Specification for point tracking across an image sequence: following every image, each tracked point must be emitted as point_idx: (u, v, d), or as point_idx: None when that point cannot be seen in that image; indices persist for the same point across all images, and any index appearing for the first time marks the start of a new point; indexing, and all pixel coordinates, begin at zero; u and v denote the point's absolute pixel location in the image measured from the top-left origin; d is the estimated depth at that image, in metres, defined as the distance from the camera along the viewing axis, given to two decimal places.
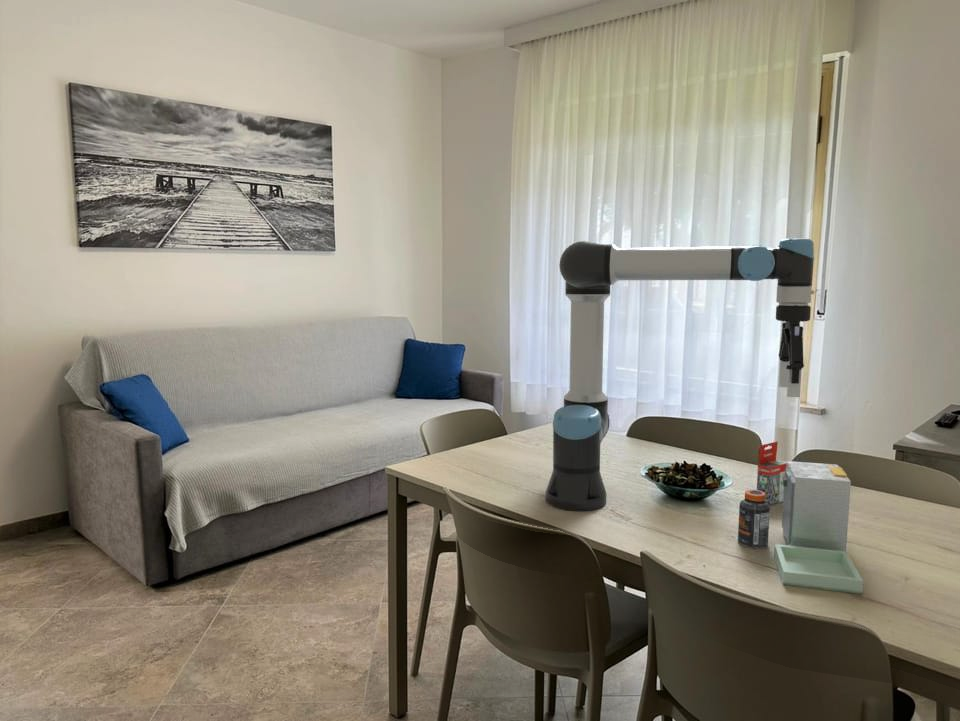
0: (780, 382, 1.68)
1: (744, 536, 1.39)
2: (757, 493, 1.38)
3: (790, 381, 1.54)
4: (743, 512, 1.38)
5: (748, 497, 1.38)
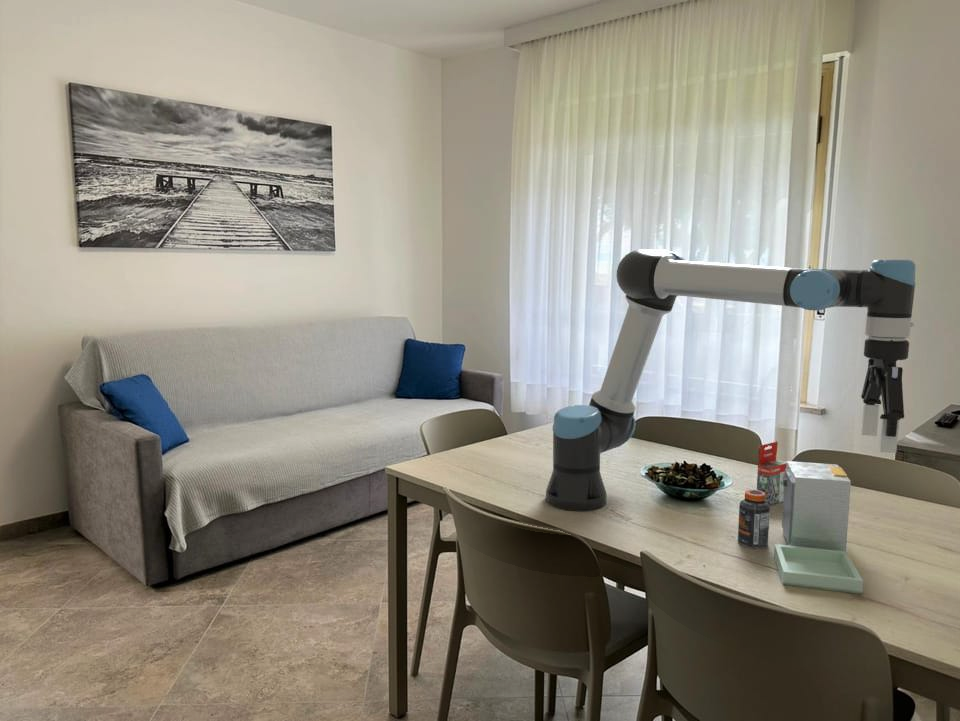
0: (864, 429, 1.40)
1: (744, 536, 1.39)
2: (757, 493, 1.38)
3: (884, 433, 1.27)
4: (743, 512, 1.38)
5: (748, 497, 1.38)
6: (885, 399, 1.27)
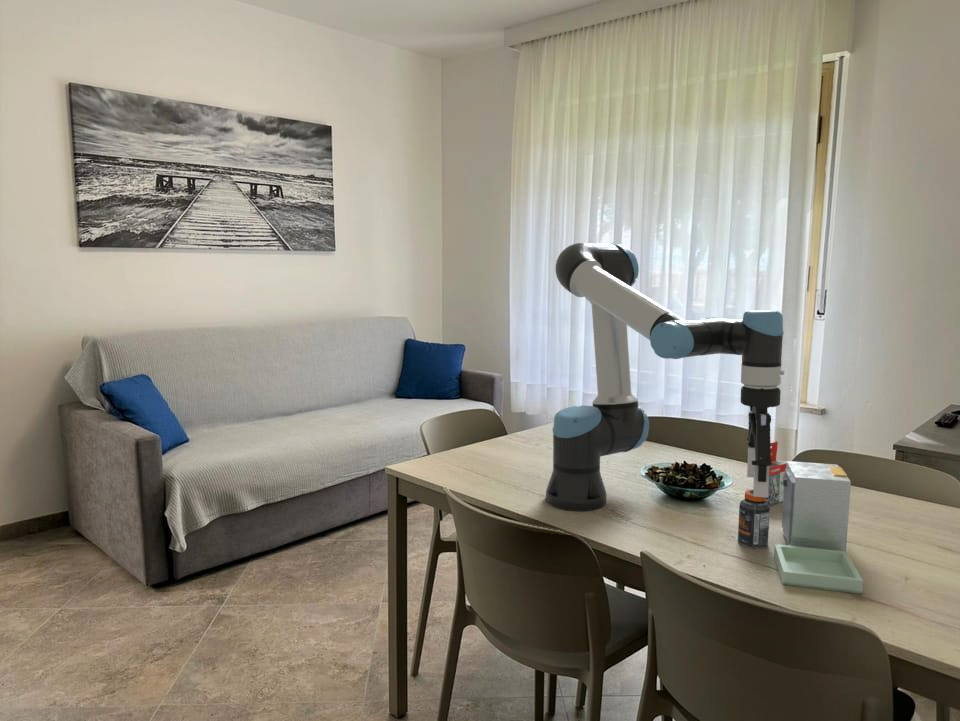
0: (749, 471, 1.45)
1: (744, 536, 1.39)
2: None
3: (756, 478, 1.31)
4: (743, 512, 1.38)
5: (748, 497, 1.38)
6: (756, 445, 1.32)
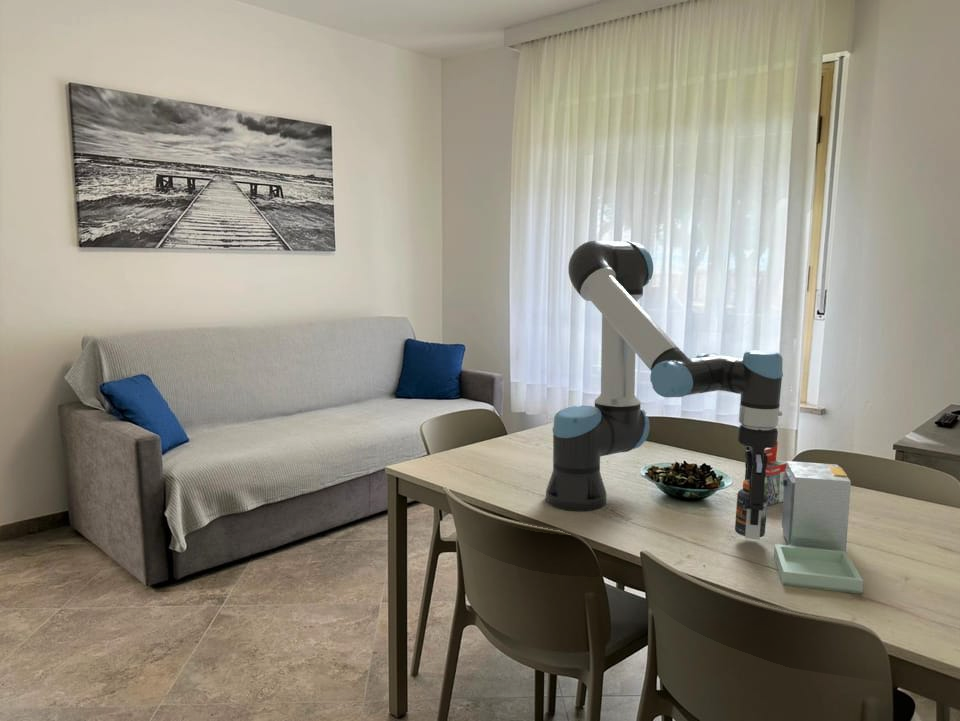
0: None
1: (741, 526, 1.39)
2: None
3: (749, 521, 1.37)
4: (741, 501, 1.38)
5: (746, 487, 1.38)
6: (750, 489, 1.36)
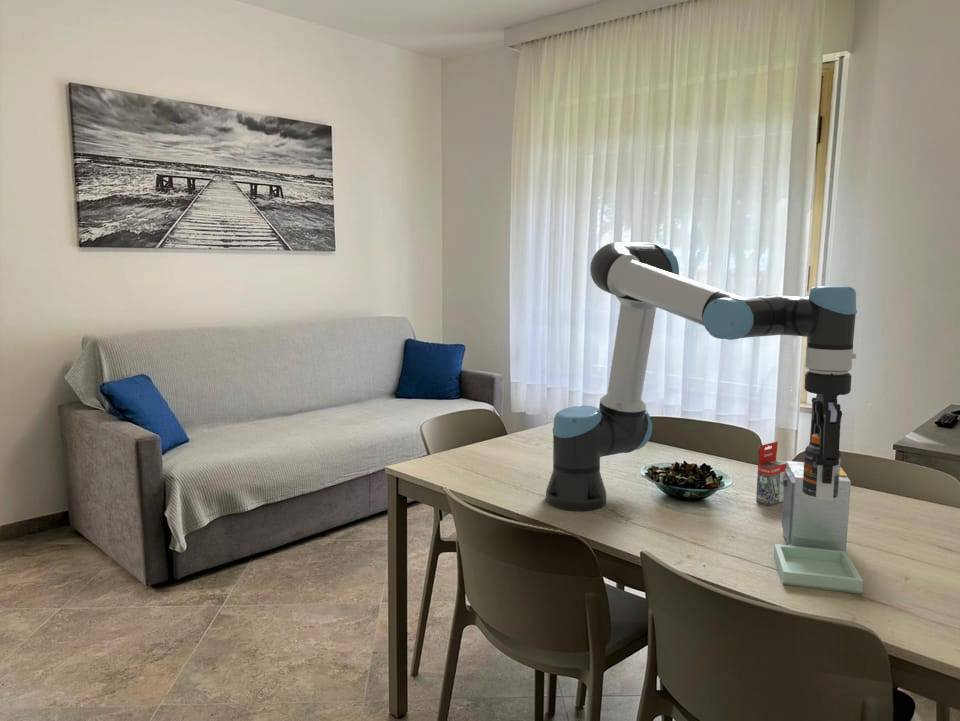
0: None
1: (811, 485, 1.22)
2: None
3: (820, 480, 1.20)
4: (811, 458, 1.22)
5: (816, 441, 1.22)
6: (822, 443, 1.19)
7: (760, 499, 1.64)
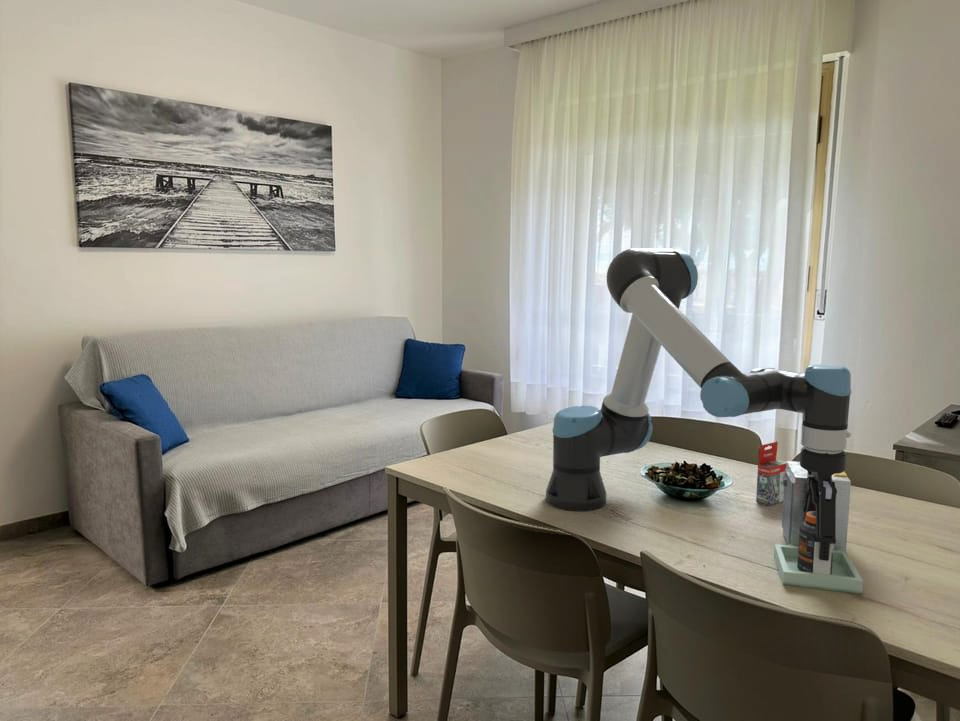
0: None
1: (806, 563, 1.24)
2: None
3: (817, 556, 1.20)
4: (805, 536, 1.24)
5: (810, 520, 1.24)
6: (818, 519, 1.20)
7: (760, 499, 1.64)
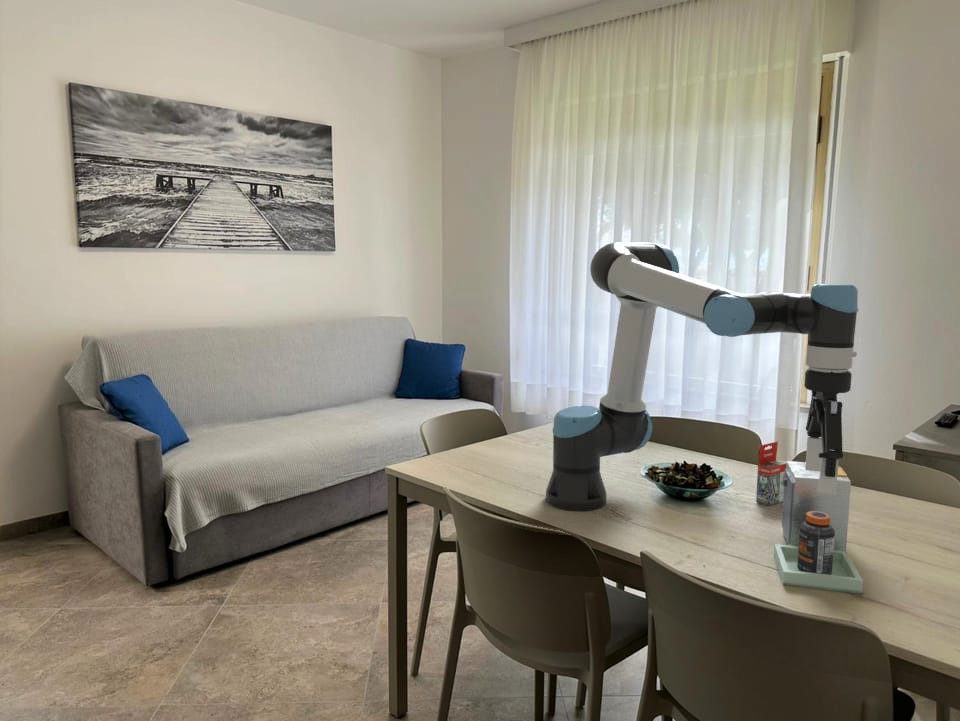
0: (807, 464, 1.30)
1: (806, 563, 1.24)
2: (821, 515, 1.24)
3: (823, 473, 1.17)
4: (805, 536, 1.24)
5: (810, 520, 1.24)
6: (824, 436, 1.17)
7: (760, 499, 1.64)
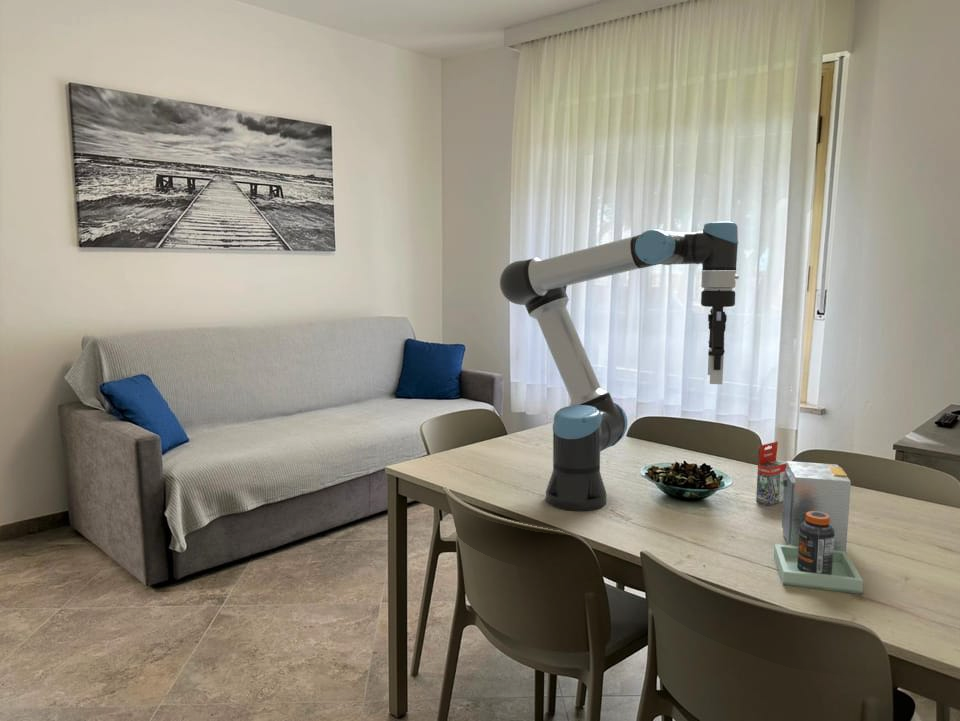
0: (709, 370, 1.64)
1: (806, 563, 1.24)
2: (820, 515, 1.24)
3: (712, 368, 1.50)
4: (805, 536, 1.24)
5: (810, 520, 1.24)
6: None
7: (760, 499, 1.64)
